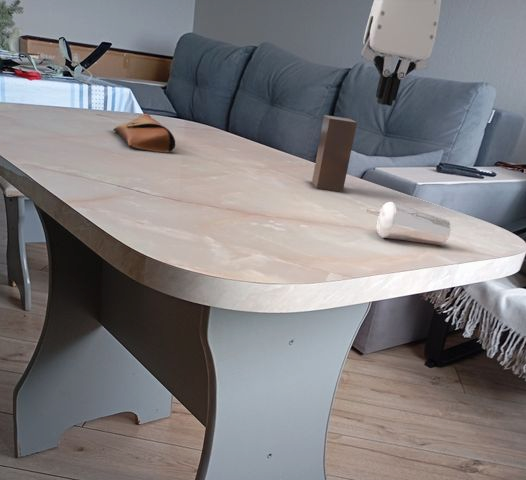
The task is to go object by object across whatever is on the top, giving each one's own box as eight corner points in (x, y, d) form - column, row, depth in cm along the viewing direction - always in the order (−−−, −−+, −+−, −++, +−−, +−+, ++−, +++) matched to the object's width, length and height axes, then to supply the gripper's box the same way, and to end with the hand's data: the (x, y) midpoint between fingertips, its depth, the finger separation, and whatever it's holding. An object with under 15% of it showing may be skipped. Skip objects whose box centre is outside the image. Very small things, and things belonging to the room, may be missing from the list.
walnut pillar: (337, 186, 106) (350, 118, 101) (342, 192, 102) (357, 122, 97) (311, 182, 105) (324, 114, 100) (316, 188, 101) (329, 118, 96)
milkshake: (443, 209, 82) (372, 193, 80) (457, 220, 77) (382, 203, 75) (431, 242, 84) (361, 226, 82) (444, 254, 79) (370, 238, 77)
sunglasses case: (109, 127, 121) (128, 99, 120) (139, 149, 125) (157, 121, 124) (128, 146, 107) (150, 113, 106) (161, 169, 111) (182, 138, 110)
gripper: (452, -17, 95) (420, 109, 103) (360, -36, 92) (334, 94, 101) (472, -20, 88) (436, 114, 97) (374, -41, 86) (344, 99, 94)
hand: (384, 104), depth 99 cm, fingers closed
